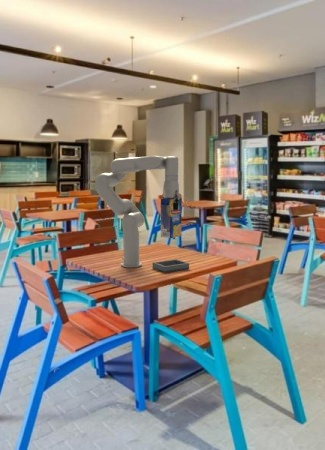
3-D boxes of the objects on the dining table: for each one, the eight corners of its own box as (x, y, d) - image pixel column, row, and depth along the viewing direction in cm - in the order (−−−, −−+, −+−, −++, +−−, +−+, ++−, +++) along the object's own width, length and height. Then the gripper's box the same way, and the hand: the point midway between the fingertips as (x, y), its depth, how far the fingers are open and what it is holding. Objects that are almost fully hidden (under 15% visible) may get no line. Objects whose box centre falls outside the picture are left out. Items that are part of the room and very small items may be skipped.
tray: (152, 268, 247) (152, 262, 246) (176, 264, 256) (176, 259, 256) (164, 272, 236) (164, 266, 236) (189, 269, 245) (189, 263, 245)
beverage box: (181, 235, 246) (181, 198, 243) (170, 238, 237) (170, 199, 234) (172, 234, 250) (172, 197, 247) (160, 237, 241) (160, 198, 239)
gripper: (157, 178, 245) (157, 208, 247) (175, 178, 230) (174, 210, 232) (168, 178, 249) (168, 207, 251) (186, 178, 234) (185, 210, 237)
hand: (171, 208), depth 242 cm, fingers closed on beverage box, 7 cm apart
